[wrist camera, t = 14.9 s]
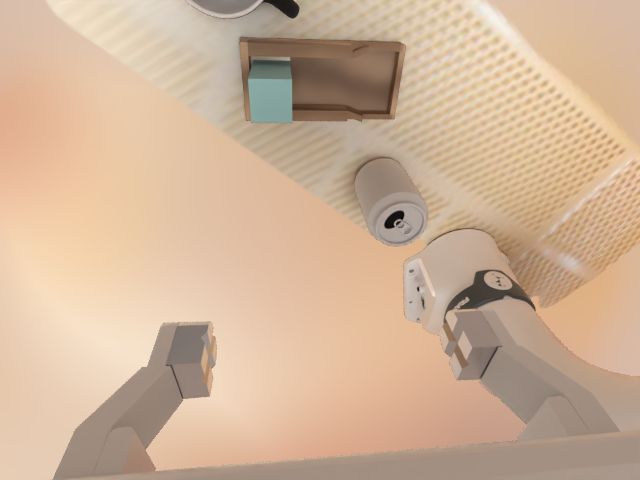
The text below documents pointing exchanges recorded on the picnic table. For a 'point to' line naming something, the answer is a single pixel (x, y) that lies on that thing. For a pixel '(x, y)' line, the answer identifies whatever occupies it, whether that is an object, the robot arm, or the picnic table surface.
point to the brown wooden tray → (332, 76)
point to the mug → (241, 7)
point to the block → (270, 91)
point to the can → (390, 202)
